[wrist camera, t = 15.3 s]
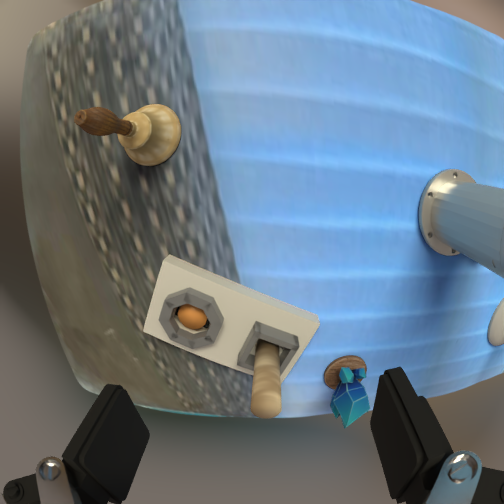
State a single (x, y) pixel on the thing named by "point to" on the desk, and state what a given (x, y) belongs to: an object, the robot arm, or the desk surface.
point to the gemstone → (347, 388)
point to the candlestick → (497, 326)
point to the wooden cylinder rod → (266, 380)
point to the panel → (226, 318)
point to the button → (192, 316)
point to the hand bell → (137, 131)
